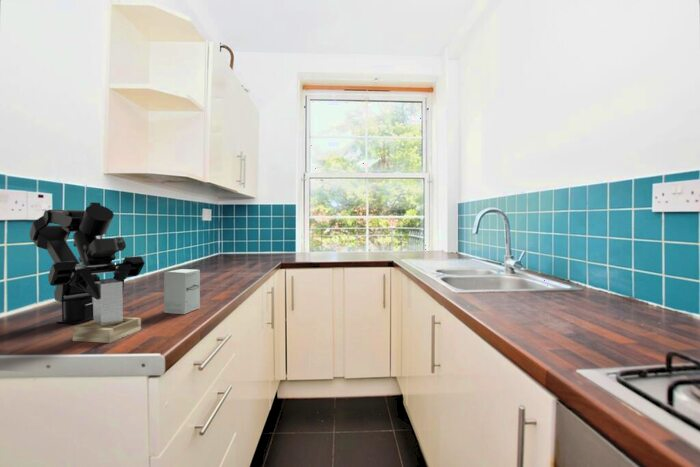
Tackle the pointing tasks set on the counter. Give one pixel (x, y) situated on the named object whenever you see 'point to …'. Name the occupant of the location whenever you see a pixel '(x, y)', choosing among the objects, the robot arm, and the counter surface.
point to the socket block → (108, 302)
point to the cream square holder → (106, 331)
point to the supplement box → (181, 291)
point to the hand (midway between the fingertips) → (110, 296)
